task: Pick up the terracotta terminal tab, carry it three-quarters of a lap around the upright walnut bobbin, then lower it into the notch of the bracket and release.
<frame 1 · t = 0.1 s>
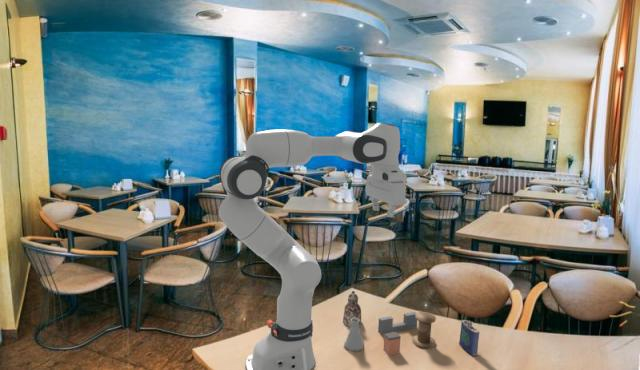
hand: (382, 213, 139), 48 cm above the table, fingers open, 8 cm apart
figurine: (352, 322, 163), on the table
bracket: (397, 329, 158), on the table
flask 2: (467, 350, 146), on the table
tab: (391, 351, 144), on the table
flask: (353, 346, 146), on the table
bobbin: (423, 342, 150), on the table
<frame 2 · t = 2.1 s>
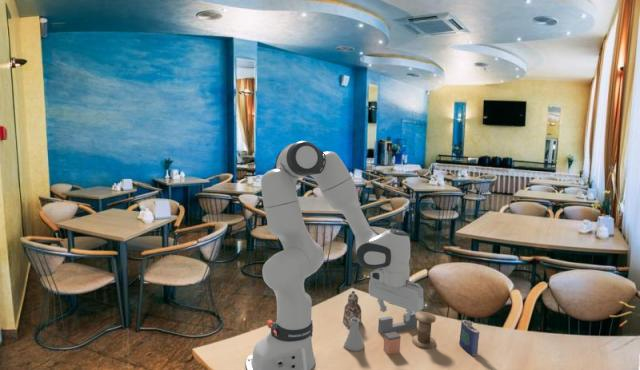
hand: (394, 315, 141), 13 cm above the table, fingers open, 8 cm apart
nothing on the table moved.
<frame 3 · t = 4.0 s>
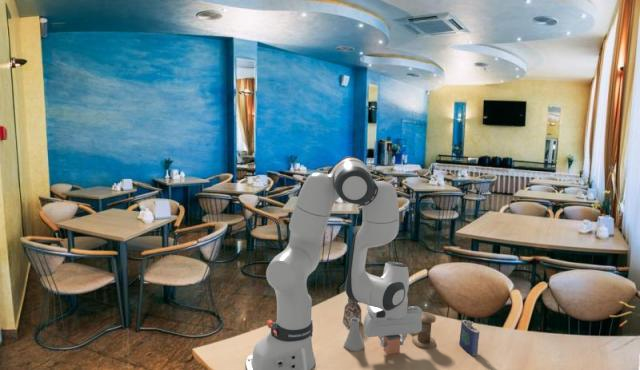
hand: (391, 345, 143), 2 cm above the table, fingers closed on tab, 5 cm apart
tab: (391, 350, 144), on the table, touching gripper
everything else where it was.
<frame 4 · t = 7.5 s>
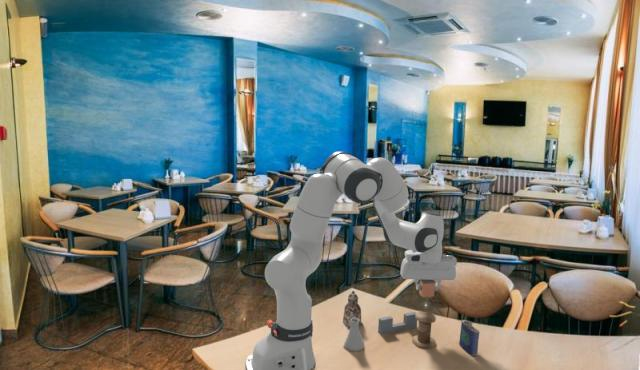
hand: (426, 289, 156), 16 cm above the table, fingers closed on tab, 5 cm apart
tab: (426, 295, 157), point 14 cm above the table, touching gripper
everything else where it was.
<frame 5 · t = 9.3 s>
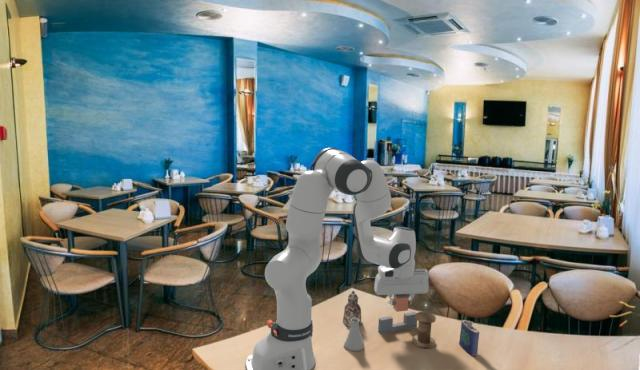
hand: (400, 304, 156), 10 cm above the table, fingers closed on tab, 5 cm apart
tab: (400, 309, 156), point 8 cm above the table, touching gripper
everything else where it was.
when the fingers open (6 cm above the table, at t = 10.9 s): tab drops 2 cm, resting on bracket.
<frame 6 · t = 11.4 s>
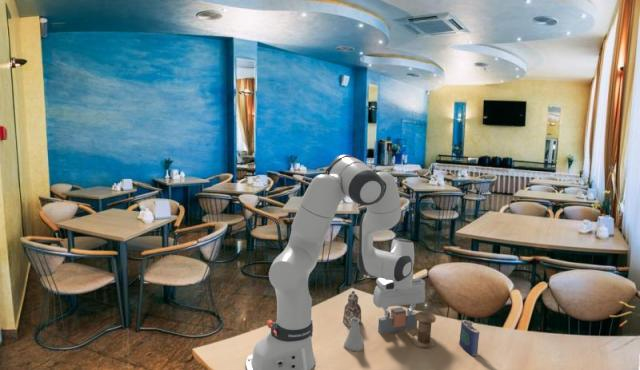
hand: (398, 315, 157), 6 cm above the table, fingers open, 8 cm apart
tab: (397, 324, 158), point 2 cm above the table, touching bracket
everything else where it was.
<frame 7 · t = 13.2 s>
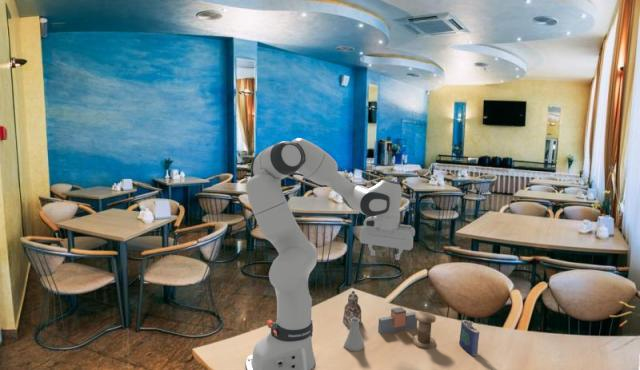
hand: (384, 257, 159), 27 cm above the table, fingers open, 8 cm apart
nothing on the table moved.
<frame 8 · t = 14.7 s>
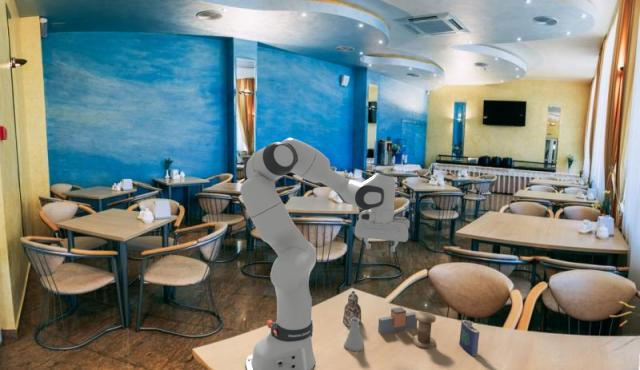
hand: (380, 250, 160), 29 cm above the table, fingers open, 8 cm apart
nothing on the table moved.
at the end: tab 0.1 cm off-centre on the bracket, point 2.0 cm above the bracket's base; the gripper is holding nothing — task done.
